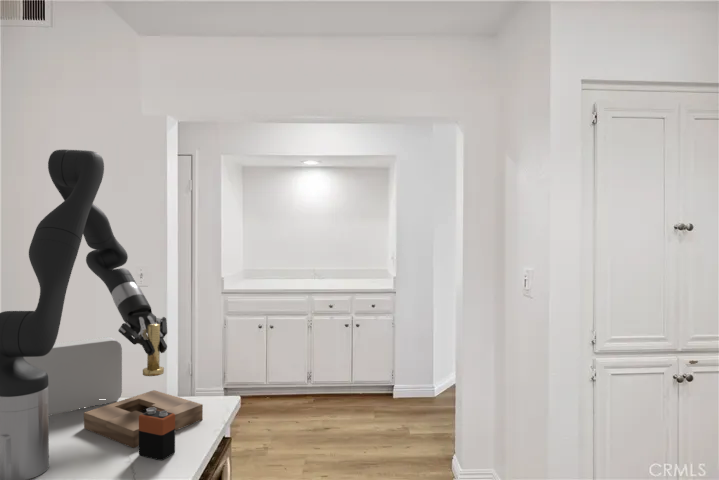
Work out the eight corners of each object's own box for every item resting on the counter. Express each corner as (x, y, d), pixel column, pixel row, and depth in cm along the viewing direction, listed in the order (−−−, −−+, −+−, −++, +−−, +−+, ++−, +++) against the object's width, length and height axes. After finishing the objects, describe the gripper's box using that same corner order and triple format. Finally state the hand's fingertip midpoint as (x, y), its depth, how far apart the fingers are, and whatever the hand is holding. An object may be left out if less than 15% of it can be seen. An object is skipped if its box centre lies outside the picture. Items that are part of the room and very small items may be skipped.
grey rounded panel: (115, 393, 149) (115, 334, 148) (122, 401, 143) (122, 339, 143) (-3, 416, 131) (-3, 348, 130) (0, 425, 125) (-1, 354, 124)
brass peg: (150, 377, 129) (151, 327, 128) (138, 374, 131) (139, 325, 131) (167, 372, 133) (168, 324, 133) (155, 369, 136) (156, 322, 136)
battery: (152, 447, 114) (152, 404, 114) (176, 452, 112) (176, 409, 111) (137, 455, 110) (137, 411, 110) (162, 461, 107) (162, 416, 107)
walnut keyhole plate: (133, 448, 113) (133, 430, 113) (84, 428, 124) (84, 412, 124) (202, 419, 131) (202, 404, 130) (153, 404, 141) (153, 390, 141)
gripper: (112, 295, 130) (140, 348, 124) (159, 290, 142) (187, 339, 135) (100, 314, 133) (127, 366, 126) (147, 307, 145) (174, 355, 138)
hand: (158, 352), depth 131 cm, fingers closed on brass peg, 3 cm apart
